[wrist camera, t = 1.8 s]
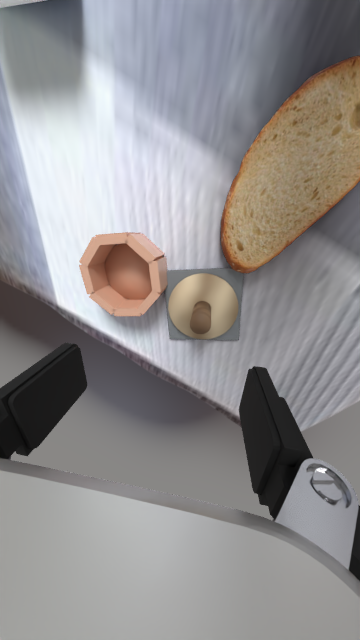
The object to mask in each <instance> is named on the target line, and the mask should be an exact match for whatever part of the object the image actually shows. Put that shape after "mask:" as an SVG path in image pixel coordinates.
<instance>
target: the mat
mask: <svg viewBox="0 0 360 640" xmlns="http://www.w3.org/2000/svg"><path fill="white" fill-rule="evenodd" d="M199 273H208V274H213V275H216V276H218V277H221V278H222V279H224V280H225V281H226V282H228V283H229V285H230V286H231V287H232V288H233V290H234V292H235V294H236V296H237V300H238V314H237V318H236V320H235V322H234V324H233V325H232V326H231V328H230V329H229V330H228V331H226V332H225V333H224V334H222V335H220V336H218V337H215V338H212V339H201V340H239V328H240V314H241V301H242V287H243V274H244V273H241V272H237V271H235V270H233V269H232V268H215V269H193V270H170V271H167V282H168V285H167V286H166V287H167V288H166V289H165V298H166V308H167V317H168V327H169V336H170V339H196V338H192V337H189V336H187V335H185V334H184V333H182V332H181V331H180V330H179V329H177V327H176V326H175V325H174V324H173V322H172V320H171V318H170V315H169V310H168V304H169V298H170V295H171V293H172V291H173V289H174V288H175V287H176V285H177V284H178V283H179V282H180V281H182V280H183V279H184V278H186V277H188V276H191V275H194V274H199Z"/></svg>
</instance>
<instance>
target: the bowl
mask: <svg viewBox="0 0 360 640" xmlns="http://www.w3.org/2000/svg"><path fill="white" fill-rule="evenodd" d="M117 244H118V245H117ZM163 255H164V253H163V252H162V251H161V250H160V249H159V248H158V247H157V246H156V245H155V244H153V243H152V242H151V241H150V240H149V239H148V238H147V237H146V236H145V235H144V234H140V233H127V232H126V233H114V234H102V235H96V237H93V238H92V239H91V241H90V243H89V245H88V247H87V249H86V250H85V252H84V254H83V256H82V258H81V259H80V261H79V262H80V263H81V264H82V265H79V267H80V270H81V274H82V277H83V281H84V284H85V288H86V291H87V294H91V295H90V296H89V297H90V298H91V299H92V300H94V301H95V302H96V303H97V304H99V305H100V306H101V307H102V308H104V309H105V310H106V311H107V312H109V313H110V314H111V315H112V314H114V316H141V315H143V314H144V313H145V312H146V311H147V310H148V309H149V308H150V306H151V305H152V304H153V303H154V302H155V301H156V299H157V298H158V297H159V296H160V295H161V294H162V293H163V291H164V290H165V289H166V288H167V287H166V286H167V285H168V282H167V262H166V257H163Z"/></svg>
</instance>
